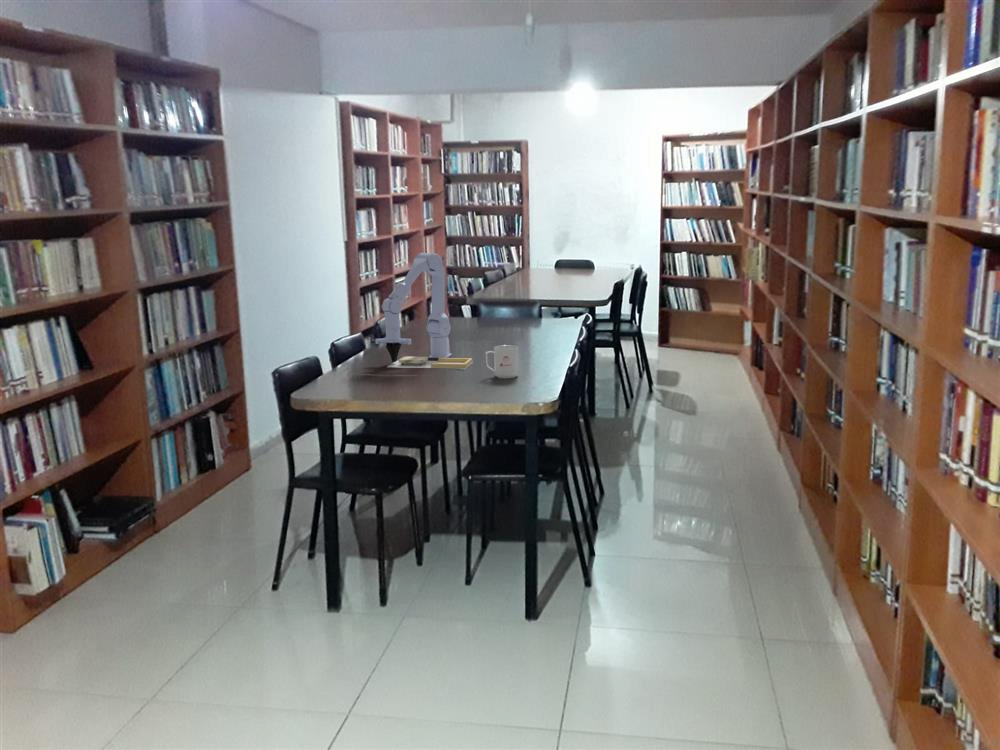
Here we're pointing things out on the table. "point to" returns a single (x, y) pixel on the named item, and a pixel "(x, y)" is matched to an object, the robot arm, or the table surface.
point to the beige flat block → (413, 360)
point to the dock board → (438, 363)
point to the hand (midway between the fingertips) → (394, 361)
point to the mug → (505, 361)
